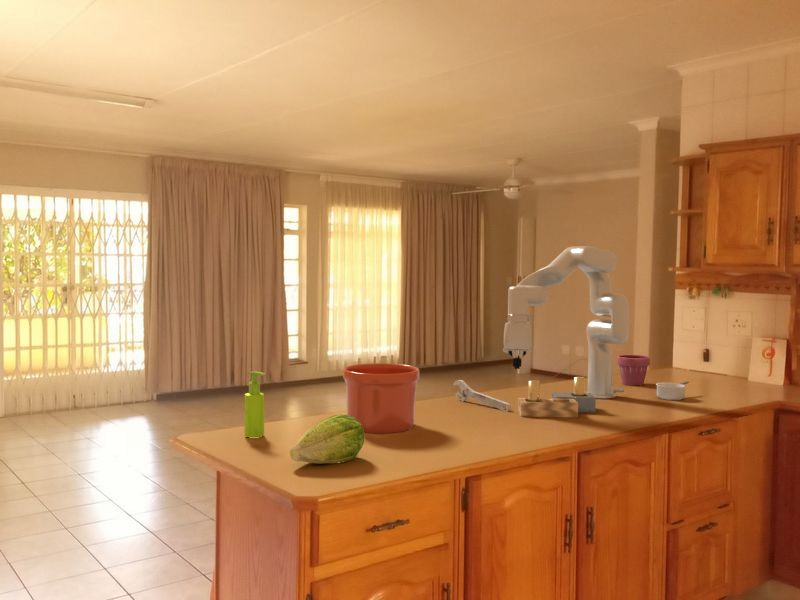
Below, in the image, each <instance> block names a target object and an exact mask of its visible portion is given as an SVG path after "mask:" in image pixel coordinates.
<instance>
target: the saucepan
mask: <svg viewBox="0 0 800 600" xmlns="http://www.w3.org/2000/svg"><path fill="white" fill-rule="evenodd" d="M689 383H690V381H688V380H687V381H683V382H679V383H673V382H657V383H655V385H656V397H658V398H659V399H661V400H667V401H681V400H683V399H685V397H686V394H685V393H686V390H685V389H686V387H687V384H689Z"/></svg>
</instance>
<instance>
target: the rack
mask: <svg viewBox="0 0 800 600" xmlns="http://www.w3.org/2000/svg"><path fill="white" fill-rule="evenodd" d="M517 399H518V401H517V402H518V405H517V406H518V407H517V408H518V409H517V412H518V414H519V416H520V417H537V418H540V417H541V418H579V412H578V403H577V402H576V401H575V400H574V399H552V398H547V399H541V398H540V397H539V402H528V397H527V398H525V397H518V398H517Z"/></svg>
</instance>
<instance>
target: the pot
mask: <svg viewBox="0 0 800 600" xmlns="http://www.w3.org/2000/svg"><path fill="white" fill-rule="evenodd" d="M342 378H343V380H344V381H345V390H346V391H345V392H346V415H348V416H352V417H354V418H356V419H357V420H358V421H359V422H360V423H361V424H362V427H363V430H364V433H368V432H369V433H371V434H392V433H393V432H395V433H402V432H405V431H409V430H411V429H412V428H413V427H414V424H415V415H416V414H415V413H416V396H417V395H416V394H417V391H416V390H417V383H418V380H419V379H420V369H419V368H418V367H416V366H414V365H410V364H409V365H408V364H401V363H381V362H379V363H359V364H353V365H348V366H347V365H346V366H345V367H343V370H342ZM401 431H402V432H401Z"/></svg>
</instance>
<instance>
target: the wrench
mask: <svg viewBox="0 0 800 600" xmlns="http://www.w3.org/2000/svg"><path fill="white" fill-rule="evenodd" d="M453 386H454V387H455V386H458V387H459V389H460V390H459V391H458V392H456V393H455V396H456V397H457V398H458V399H459V400H461V402H463V403H464V402H465V403H466V402H468V399H472V400H475V401H478V402H480V403H483V404H485V405H488V406H491V407H493V408H496V409H499V410H500V411H505V412H511V410H512V405H511V404H510V403H509V402H507V401H503V400H500V399H498V398H495V397H492V396H489V395H486V394H483V393H482V392H481V393H480V392H478V391H476V390H475V389H472V388H471V387H470V386H469V385H468V384H467V383H466V382H465V380H462V379H457V380H455V381H454V382H453Z"/></svg>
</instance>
